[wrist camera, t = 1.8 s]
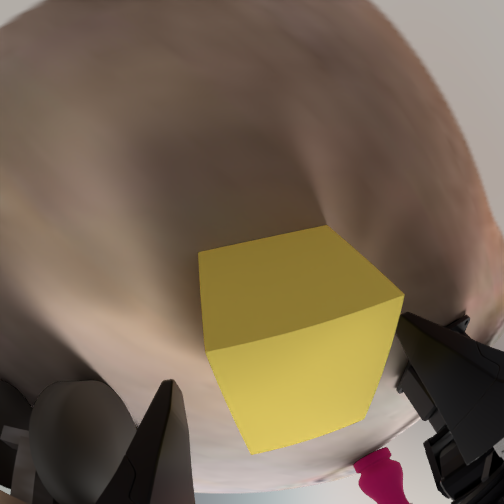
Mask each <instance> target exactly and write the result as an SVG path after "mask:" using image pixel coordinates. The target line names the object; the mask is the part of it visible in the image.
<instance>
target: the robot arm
mask: <svg viewBox="0 0 504 504" xmlns="http://www.w3.org/2000/svg"><path fill="white" fill-rule="evenodd" d="M469 321H470V317H469V316H468V315H465V316H463V317H462V318H460V319H459V320H457V321H455V322H454V323H452V324H450V325H449V326H447V327H443V326H440V325H438V324H436V323H433V322H431V321H429V320H426V319H424V318H422V317H419V316H417V315H415V314H412V313H410V312H406V313H403V314H401V315H400V316H399V320H398V324H397V327H396V334H397V336H398V338H399V340H400V342H401V344H402V346H403V348H404V350H405V352H406V355H407V357H408V359H409V362H408V365H407V367H406V369H405V372H404V374H403V376H402V379H401V381H400V383H399V385H398V387H397V392H398V393H399V394H400V393H403V392H404V393H405V395H406V396H407V398H408V399H409V401H410V402H411V404H412V405H413V407H414V408H415V410H416V411H417V413H418V414H419V416H420V417H421V419H422V420H424V421H426V420H429V422H430V423H431V425H432V426H433V428H434V430H435V431H436V432H437V434H435V435H434V436H433V437H431V438H429V439H428V440H426V441H425V442H424V443H423V444H424V447H425V450H426V455H427V458H428V460H429V464H430V467H431V470H432V473H433V476H434V479H435V483H436V486H437V489H438V491H440V492H441V493H442V495H444V496H445V497H446V498H448V499H452V500H453V502H451V504H504V352H503V351H500V350H498V349H495V348H492V347H489V346H487V345H484V344H482V343H480V342H477V341H476V342H475V340H473V339H471V338H470V337H469V336H468V335H467V334H466V333H465V330H466V328H467V325H468V323H469ZM95 504H195V498H194V489H193V479H192V468H191V456H190V442H189V430H188V424H187V418H186V413H185V407H184V401H183V395H182V392H181V390H180V388H179V387H178V385H177V384H176V382H175V380H173V379H170V380H164V381H163V382H162V383H161V385H160V387H159V389H158V391H157V392H156V394H155V396H154V398H153V400H152V402H151V404H150V406H149V408H148V410H147V412H146V414H145V416H144V418H143V420H142V421H141V423H140V425H139V427H138V429H137V431H136V433H135V435H134V437H133V439H132V441H131V443H130V445H129V447H128V449H127V451H126V455H124V457H123V459H122V461H121V463H120V465H119V467H118V468H117V470H116V472H115V474H114V475H113V477H112V479H111V480H110V482H109V483H108V485H107V486H106V488H105V489H104V491H103V492H102V494H101V495H100V497H99V498H98V500H97V501H96V503H95Z"/></svg>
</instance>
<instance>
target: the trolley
mask: <svg viewBox="0 0 504 504" xmlns="http://www.w3.org/2000/svg"><path fill="white" fill-rule="evenodd" d="M136 431H137V430H136V427H135V424H134V422H133V420H132V417H131V415H130V413H129V411H128V410H127V408H126V406H125V404H124V403H123V401H122V400H121V399H120V397H119V396H118V395H117V394H116V393H115V392H114V390H112V389H111V388H110V387H109V386H107V385H106V384H104V383H102V382H100V381H95V380H90V381H66V382H57V383H54V384H52V385H50V386H48V387H47V388H46V389H45V390H43V392H42V393H41V394H40V395H39V397H38V399H37V400H36V402H35V404H34V407H33V409H32V408H31V406H30V405H29V403H28V402H27V400H26V399H25V398H24V397H23V395H22V394H21V393H20V392H19V391H18V390H17V389H15V388H14V387H13V386H11V385H9V384H8V383H6V382H3V381H0V485H2V486H4V487H6V488H9V489H11V494H10V495H9V494H7V493H5V492H3V491H1V490H0V504H95V503H96V501H97V500H98V498H99V497H100V495H101V494H102V492H103V491H104V489H105V488H106V486H107V485H108V483H109V482H110V480H111V479H112V477H113V475H114V474H115V472H116V470H117V468H118V467H119V465H120V463H121V461H122V459H123V457H124V455H126V451H127V449H128V447H129V445H130V443H131V441H132V439H133V437H134V435H135V433H136Z"/></svg>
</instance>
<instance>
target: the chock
mask: <svg viewBox="0 0 504 504" xmlns="http://www.w3.org/2000/svg"><path fill="white" fill-rule="evenodd" d="M198 261H199V280H200V296H201V310H202V323H203V335H204V345H205V353H206V356H207V358H208V361H209V363H210V366H211V368H212V370H213V373H214V375H215V378H216V380H217V382H218V385H219V387H220V389H221V392H222V394H223V396H224V399H225V401H226V403H227V405H228V408H229V410H230V412H231V414H232V416H233V418H234V421H235V423H236V425H237V427H238V429H239V431H240V433H241V435H242V437H243V439H244V441H245V443H246V445H247V447H248V449H249V451H250V453H251V455H253V454H258V453H262V452H267V451H271V450H275V449H279V448H283V447H286V446H290V445H294V444H297V443H300V442H304V441H307V440H310V439H313V438H316V437H319V436H322V435H325V434H328V433H331V432H333V431H336V430H339V429H341V428H344V427H346V426H349V425H351V424H354V423H356V422H359V421H361V420H363V419H364V418H365V416H366V414H367V411H368V409H369V406H370V404H371V402H372V399H373V397H374V394H375V392H376V389H377V386H378V384H379V381H380V378H381V375H382V373H383V370H384V367H385V364H386V361H387V358H388V355H389V351H390V348H391V345H392V342H393V338H394V335H395V331H396V327H397V324H398V320H399V316H400V312H401V308H402V304H403V299H404V295H405V294H404V293H402V292H401V291H400V290H399V289H398V288H397V287H396V286H395V285H394V284H393V283H392V282H391V281H390V280H389V279H388V278H387V277H386V276H384V275H383V274H382V273H381V272H380V271H379V270H378V269H377V268H376V267H375V266H374V265H372V264H371V263H370V262H369V261H368V260H367V259H366V258H365V257H364V256H362V255H361V254H360V253H359V252H358V251H357V250H356V249H354V248H353V247H352V246H351V245H350V244H349V243H348V242H346V241H345V240H344V239H343V238H342V237H341V236H339V235H338V234H337V233H336V232H335V231H333V230H332V229H331V228H330V227H329V226H327V225H324V226H319V227H314V228H310V229H305V230H300V231H295V232H290V233H286V234H281V235H276V236H271V237H267V238H262V239H257V240H253V241H248V242H243V243H239V244H234V245H229V246H225V247H220V248H215V249H211V250H206V251H202V252H198Z"/></svg>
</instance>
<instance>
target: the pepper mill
mask: <svg viewBox="0 0 504 504" xmlns="http://www.w3.org/2000/svg"><path fill="white" fill-rule="evenodd" d="M390 456H391V453H390V451H389V449H388V448H387V447H385V448H382V449H379V450H377V451H375V452H373V453H371V454H369V455H367V456H365V457H363V458H362V459H360V460H358V461H357V462H356V463H355V464H354V468H355V470H356V473H361V477H360V479H359V486H360V488H361V490H362V491H363V492H364V493H365V494H366V495H368V496H369V497H370V498H372V499H373V500H375V501H376V502H377V503H378V504H409V502H408V501H407V499H406V497H405V495H404V492H403V472H402V467H401V465H400V463H399V462H397V461H394V460H391V459H389V458H390ZM410 504H412V503H410Z"/></svg>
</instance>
